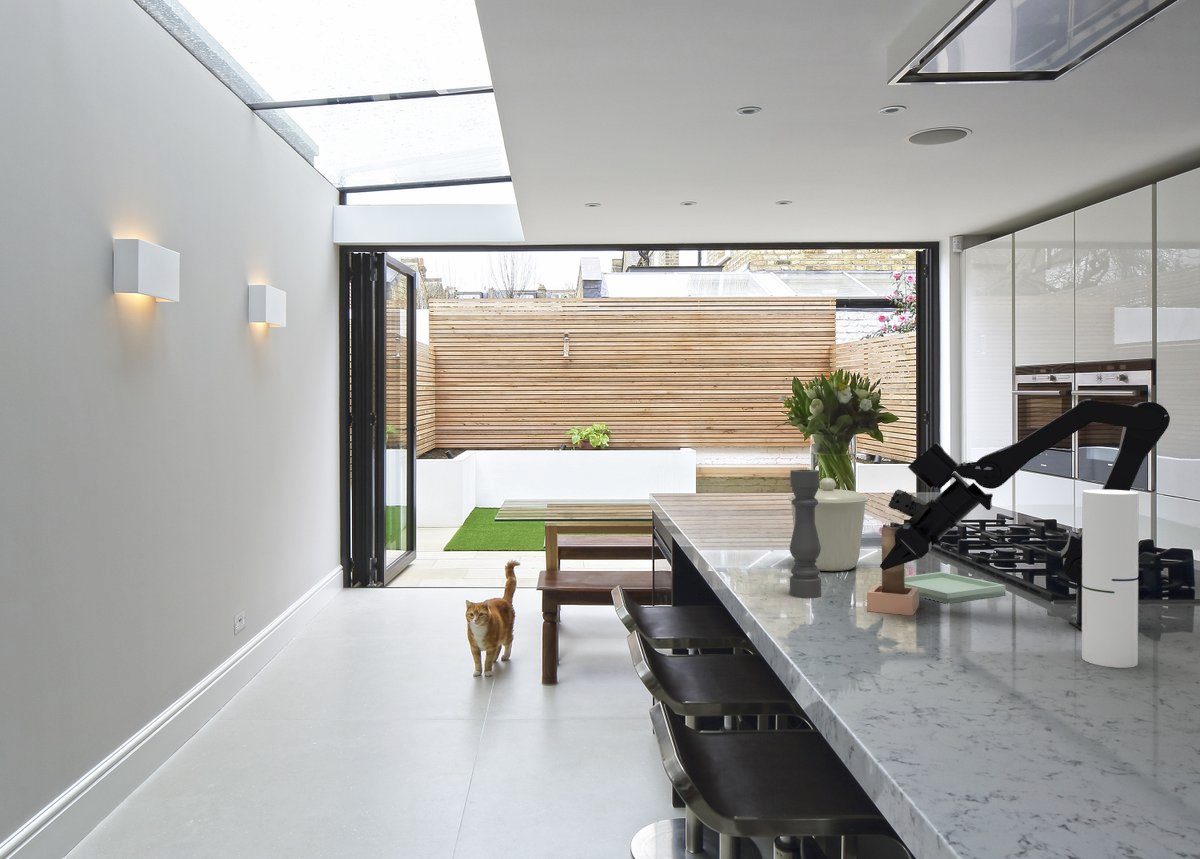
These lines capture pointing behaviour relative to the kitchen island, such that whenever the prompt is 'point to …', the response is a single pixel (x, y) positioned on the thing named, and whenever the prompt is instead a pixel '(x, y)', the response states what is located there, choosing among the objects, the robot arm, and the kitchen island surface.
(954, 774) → the kitchen island surface
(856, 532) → the canister
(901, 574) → the dowel pin
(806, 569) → the candle holder
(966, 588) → the tray
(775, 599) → the kitchen island surface
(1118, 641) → the cylindrical container
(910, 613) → the pink open box
